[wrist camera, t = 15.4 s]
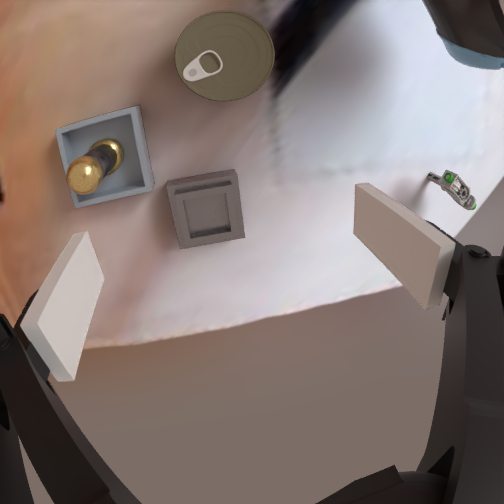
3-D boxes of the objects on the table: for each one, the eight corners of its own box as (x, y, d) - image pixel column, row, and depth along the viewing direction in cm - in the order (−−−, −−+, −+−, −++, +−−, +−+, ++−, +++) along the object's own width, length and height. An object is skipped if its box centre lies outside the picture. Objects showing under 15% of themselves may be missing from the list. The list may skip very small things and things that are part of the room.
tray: (64, 126, 38) (55, 129, 35) (139, 105, 39) (135, 106, 36) (82, 200, 44) (75, 208, 41) (154, 183, 45) (152, 191, 42)
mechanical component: (439, 194, 55) (472, 214, 47) (411, 168, 51) (447, 186, 43) (446, 183, 54) (480, 201, 46) (419, 155, 50) (455, 171, 42)
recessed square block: (167, 181, 45) (165, 189, 42) (234, 169, 46) (238, 176, 43) (180, 240, 50) (180, 253, 47) (242, 229, 51) (246, 241, 48)
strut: (89, 170, 41) (56, 201, 30) (92, 136, 39) (58, 155, 28) (121, 174, 43) (99, 206, 31) (126, 139, 40) (103, 159, 29)
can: (277, 75, 40) (291, 73, 35) (204, 115, 42) (207, 119, 36) (236, 8, 34) (244, -5, 29) (161, 48, 36) (156, 41, 30)
